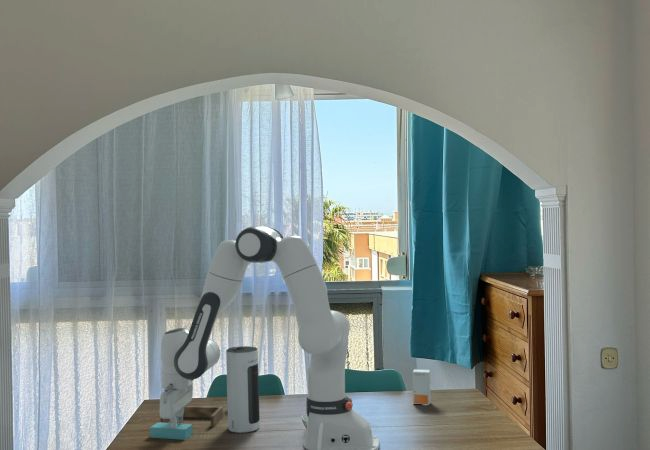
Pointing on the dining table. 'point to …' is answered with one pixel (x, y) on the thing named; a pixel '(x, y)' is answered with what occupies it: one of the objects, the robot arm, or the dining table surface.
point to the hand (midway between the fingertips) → (176, 424)
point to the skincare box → (421, 387)
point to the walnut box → (202, 413)
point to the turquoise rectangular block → (171, 431)
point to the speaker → (242, 389)
